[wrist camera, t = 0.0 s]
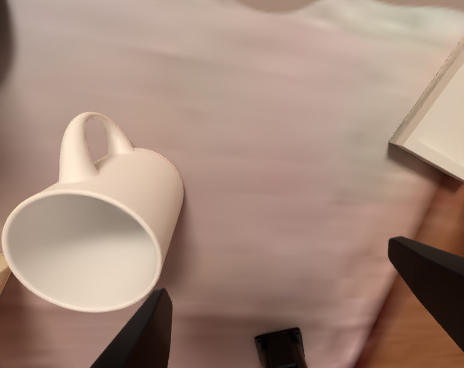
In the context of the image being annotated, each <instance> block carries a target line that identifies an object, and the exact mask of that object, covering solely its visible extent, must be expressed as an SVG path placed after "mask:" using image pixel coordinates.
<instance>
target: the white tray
mask: <svg viewBox="0 0 464 368" xmlns="http://www.w3.org/2000/svg"><path fill="white" fill-rule="evenodd" d="M389 142H390V143H391V144H393V145H395V146H397V147H399V148H400V149H402V150H404V151H406V152H408V153H409V154H411V155H413V156H415V157H417V158H418V159H420V160H422V161H424V162H426V163H427V164H429V165H431V166H433V167H435V168H437V169H438V170H440V171H442V172H444V173H446V174H447V175H449V176H451V177H453V178H455V179H456V180H458V181H461V182H464V37H463V38H462V40H461V41H460V43H459V44H458V45H457V47H456V48H455V50H454V51H453V53H452V54H451V55H450V57H449V58H448V60H447V61H446V62H445V64H444V65H443V67H442V68H441V69H440V71H439V72H438V74H437V75H436V76H435V78H434V79H433V81H432V82H431V83H430V85H429V86H428V88H427V89H426V91H425V92H424V93H423V95H422V96H421V98H420V99H419V100H418V102H417V103H416V105H415V106H414V107H413V109H412V110H411V112H410V113H409V114H408V116H407V117H406V119H405V120H404V122H403V123H402V124H401V126H400V127H399V129H398V130H397V131H396V133H395V134H394V136H393V137H392V138H391V140H390V141H389Z"/></svg>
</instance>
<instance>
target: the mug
mask: <svg viewBox="0 0 464 368" xmlns="http://www.w3.org/2000/svg"><path fill="white" fill-rule="evenodd" d="M91 118H93V119H96V120H98V121H99V122H100V123H101V124H102V126H103V127H104V129H105V131H106V134H107V139H108V155H106V156H105V157H103V158H101V159H99V160H98V161H96V162H94V163H93V162H92V159H91V157H90V154H89V151H88V148H87V144H86V138H85V126H86V123H87V121H88V120H89V119H91ZM183 197H184V189H183V183H182V179H181V177H180V175H179V173H178V171H177V169H176V168H175V167H174V166H173V164H172V163H171V162H170V161H169V160H167V159H166V158H165V157H163V156H162V155H160V154H158V153H156V152H154V151H151V150H148V149H143V148H133V147H132V145H131V144H130V142H129V140H128V138H127V137H126V135H125V134H124V133H123V131H122V130H121V129H120V127H119V126H118V125H117V124H116V123H115V122H113V121H112V120H111V119H109V118H108V117H106V116H104V115H102V114H99V113H95V112H86V113H82V114H80V115H78V116H76V117H75V118H74V119H73V120H72V121H71V122H70V124H69V125H68V127H67V129H66V131H65V134H64V137H63V140H62V145H61V151H60V172H59V181H58V182H57V183H56V184H54V185H52V186H50V187H49V188H47V189H45V190H43V191H42V192H40V193H38V194H36V195H34V196H32V197H30V198H28V199H26V200H25V201H24V202H22V203H21V204H19V205H18V206H17V207H16V208H15V209H14V210H13V211H12V213H11V214H10V216H9V217H8V219H7V221H6V223H5V225H4V228H3V232H2V249H3V254H4V257H5V260H6V262H7V264H8V266H9V268H10V269H11V271H12V272H13V274H14V275H15V276H16V277H17V279H18V280H19V281H20V282H21V283H22V284H23V285H24V286H25V287H26V288H28V289H29V290H30V291H32V292H33V293H34V294H36V295H37V296H39V297H41V298H42V299H44V300H46V301H48V302H50V303H52V304H55V305H58V306H60V307H63V308H67V309H70V310H75V311H80V312H94V313H100V312H110V311H116V310H119V309H123V308H126V307H128V306H131V305H133V304H135V303H136V302H138V301H140V300H141V299H142V298H144V297H145V296H146V295H147V294H148V293H149V292H150V291H151V290H152V289H153V287H154V286H155V285H156V283H157V281H158V279H159V276H160V273H161V270H162V267H163V264H164V261H165V258H166V254H167V251H168V248H169V245H170V242H171V239H172V235H173V232H174V229H175V226H176V223H177V220H178V216H179V213H180V210H181V207H182V203H183Z"/></svg>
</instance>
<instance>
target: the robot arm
mask: <svg viewBox="0 0 464 368" xmlns="http://www.w3.org/2000/svg"><path fill="white" fill-rule="evenodd" d="M388 257H389V260H390V262H391V263H392V264H393V266H394V267H395V269H396V270H397V271H398V273H399V274H400V275H401V277H402V278H403V280H404V281H405V282H406V284H407V285H408V287H409V288H410V289H411V291H412V292H413V293H414V295H415V296H416V297H417V299H418V300H419V301H420V302H421V303H422V305H423V306H424V307H425V308H426V309H427V310H428V311H429V313H430V314H431V315H432V316H433V317H434V318H435V320H436V321H437V322H438V323H439V324H440V325H441V326H442V328H443V329H444V330H445V331H446V332H447V333H448V335H449V336H450V337H451V338H452V339H453V340H454V341H455V343H456V344H457V345H458V346H459V347H460V348H461V350H462V351H463V352H464V258H463V257H460V256H458V255H455V254H452V253H449V252H446V251H443V250H440V249H437V248H434V247H431V246H428V245H426V244H423V243H420V242H417V241H414V240H411V239H408V238H405V237H402V236H398V237H393V238H390V239H389V243H388ZM172 310H173V306H172V301H171V299H170V297H169V295H168V292H167V290H166V289H165V288H161V289H156V290H154V291H153V292H152V293H151V295H150V296H149V297H148V298H147V299H146V301H145V302H144V303H143V304H142V305H141V307H140V308H139V309H138V310H137V312H136V313H135V314H134V315H133V316H132V318H131V319H130V320H129V321H128V322H127V324H126V325H125V326H124V327H123V328H122V330H121V331H120V332H119V333H118V334H117V336H116V337H115V338H114V339H113V340H112V342H111V343H110V344H109V345H108V346H107V348H106V349H105V350H104V351H103V352H102V354H101V355H100V356H99V357H98V358H97V360H96V361H95V362H94V363H93V365H92V366H91V367H90V368H167V366H168V360H169V353H170V343H171V326H172ZM255 342H256V346H257V350H258V353H259V357H260V360H261V364H262V367H264V368H308V367H307V364H306V361H305V355H304V348H303V342H302V335H301V331H300V329H299V328H294V329H289V330H284V331H280V332H275V333H270V334H266V335H261V336H257V337H255Z"/></svg>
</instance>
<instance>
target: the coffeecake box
mask: <svg viewBox="0 0 464 368" xmlns="http://www.w3.org/2000/svg"><path fill="white" fill-rule="evenodd" d="M11 272H12V271H11V269H10V268H9V266H8V264H7V262H6V260H5V257H4V254H2V253H0V295H1V293H2V291H3V289H4V287H5V285H6V282H7V280H8V278H9V276H10V274H11Z"/></svg>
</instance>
